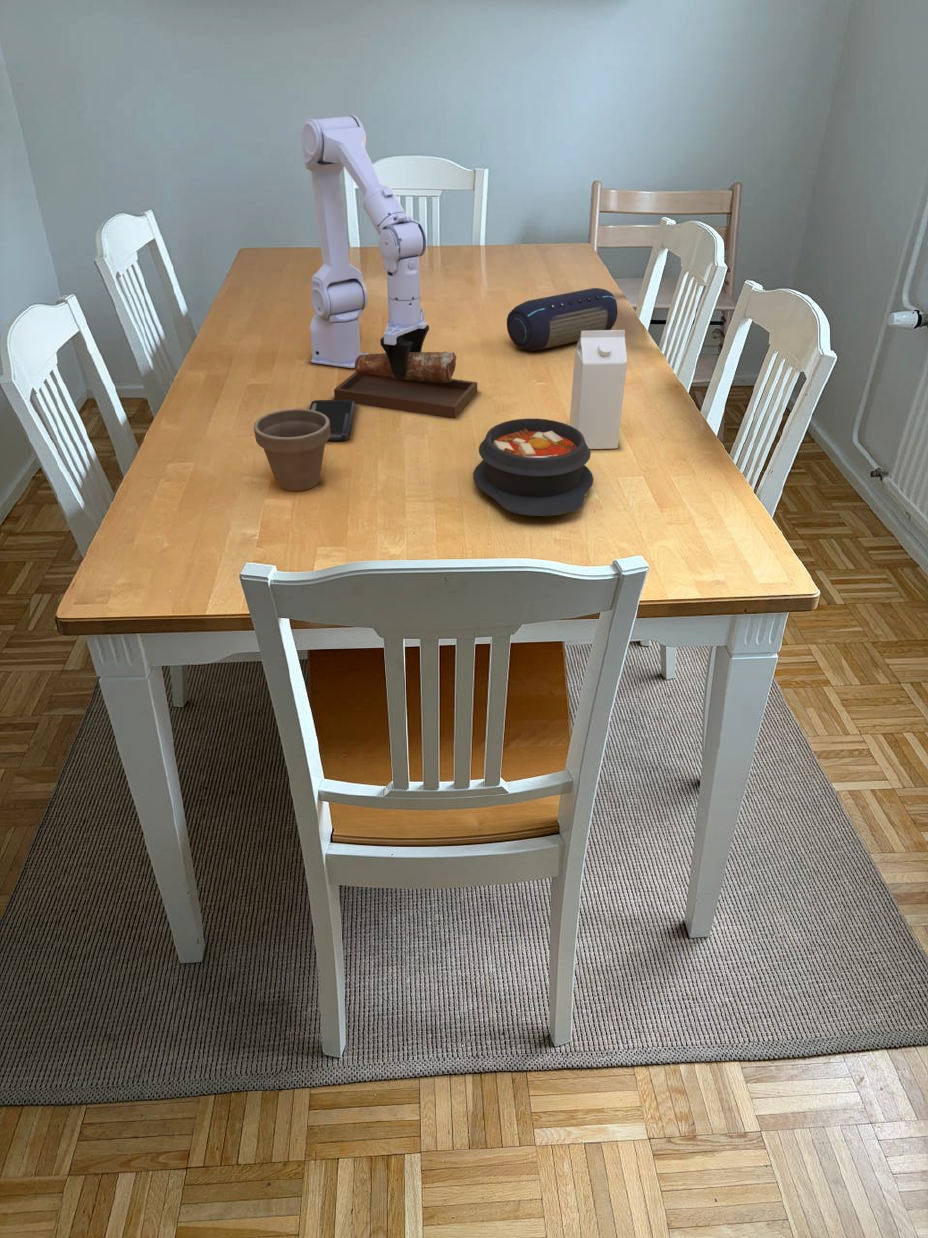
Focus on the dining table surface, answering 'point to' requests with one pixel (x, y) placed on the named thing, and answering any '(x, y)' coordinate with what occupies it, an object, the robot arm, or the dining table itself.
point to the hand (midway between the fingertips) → (406, 370)
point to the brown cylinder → (410, 366)
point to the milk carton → (599, 387)
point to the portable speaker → (561, 318)
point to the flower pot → (294, 446)
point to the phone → (336, 416)
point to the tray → (408, 394)
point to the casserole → (535, 467)
